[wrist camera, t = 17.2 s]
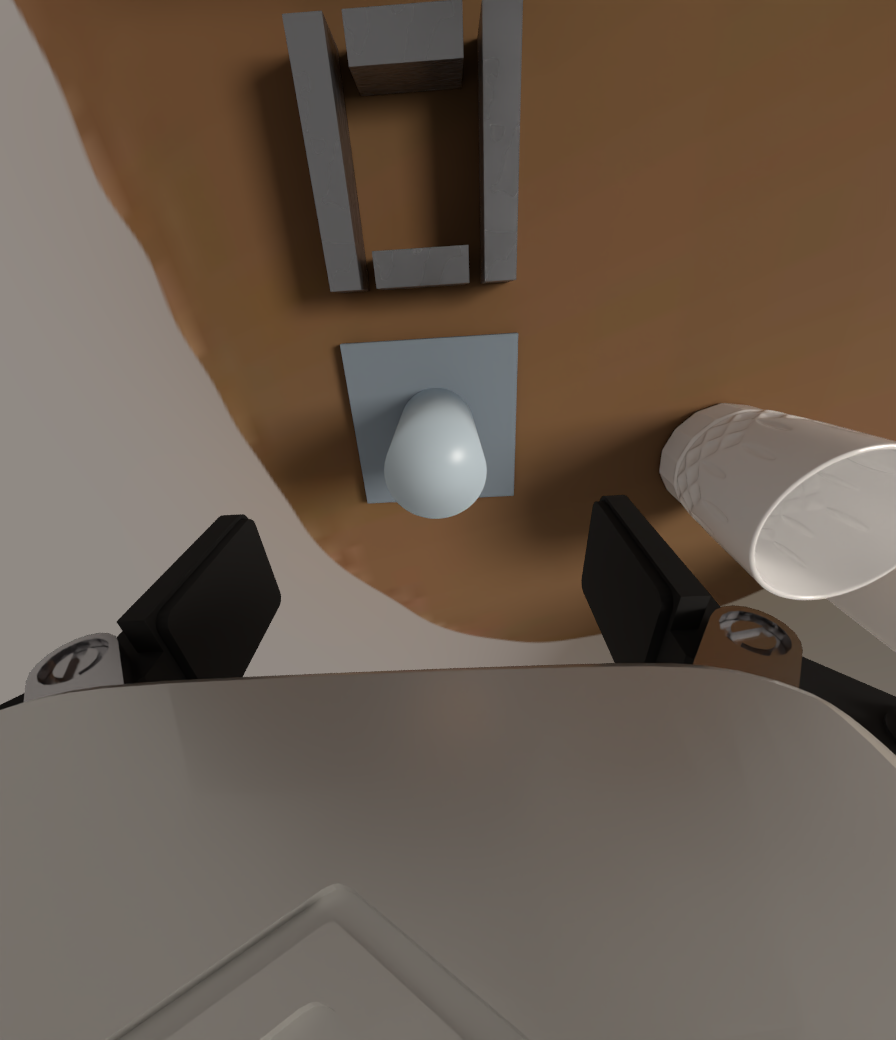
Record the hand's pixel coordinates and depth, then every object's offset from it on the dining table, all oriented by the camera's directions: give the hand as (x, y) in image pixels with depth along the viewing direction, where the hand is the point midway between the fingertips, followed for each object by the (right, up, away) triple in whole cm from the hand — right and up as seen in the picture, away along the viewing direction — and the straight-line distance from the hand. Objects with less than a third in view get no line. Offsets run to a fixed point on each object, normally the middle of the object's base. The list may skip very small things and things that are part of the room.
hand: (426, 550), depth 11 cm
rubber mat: (0, +7, +14) cm, 15 cm away
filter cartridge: (0, +7, +13) cm, 15 cm away
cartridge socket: (-1, +17, +8) cm, 19 cm away
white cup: (+18, +5, +15) cm, 24 cm away
